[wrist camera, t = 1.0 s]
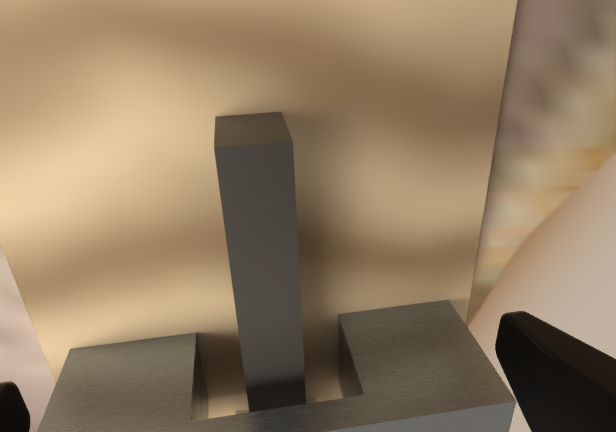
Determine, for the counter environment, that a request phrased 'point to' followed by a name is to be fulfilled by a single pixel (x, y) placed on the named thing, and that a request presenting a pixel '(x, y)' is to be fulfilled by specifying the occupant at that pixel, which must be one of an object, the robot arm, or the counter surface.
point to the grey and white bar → (263, 254)
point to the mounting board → (203, 173)
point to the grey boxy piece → (306, 417)
